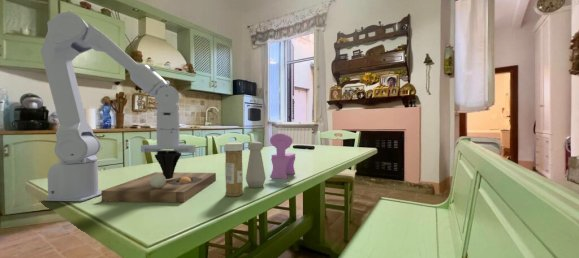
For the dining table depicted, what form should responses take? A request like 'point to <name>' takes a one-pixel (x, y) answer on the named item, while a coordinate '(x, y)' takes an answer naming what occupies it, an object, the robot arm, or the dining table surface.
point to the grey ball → (157, 180)
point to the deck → (168, 193)
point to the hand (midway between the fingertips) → (168, 178)
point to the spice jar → (234, 169)
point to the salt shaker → (255, 166)
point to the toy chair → (282, 156)
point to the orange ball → (184, 180)
